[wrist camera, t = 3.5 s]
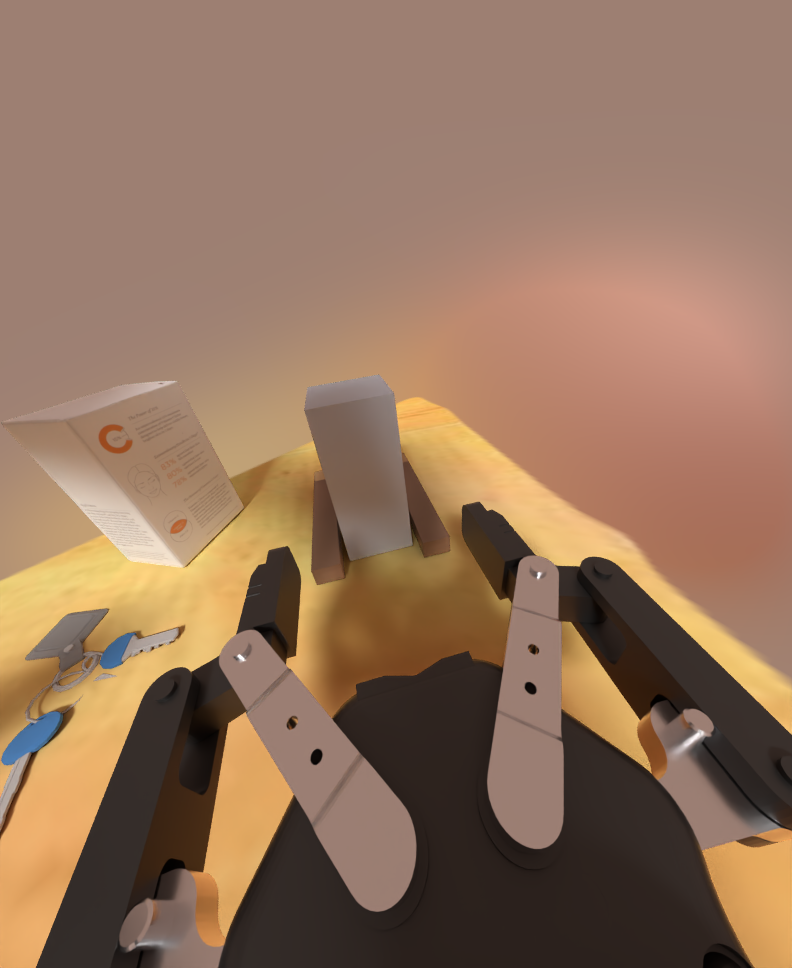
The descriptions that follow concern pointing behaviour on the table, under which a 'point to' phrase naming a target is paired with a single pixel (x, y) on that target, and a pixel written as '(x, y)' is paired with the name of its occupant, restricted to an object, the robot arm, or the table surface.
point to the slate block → (361, 462)
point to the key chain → (70, 650)
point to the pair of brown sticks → (328, 530)
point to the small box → (135, 468)
